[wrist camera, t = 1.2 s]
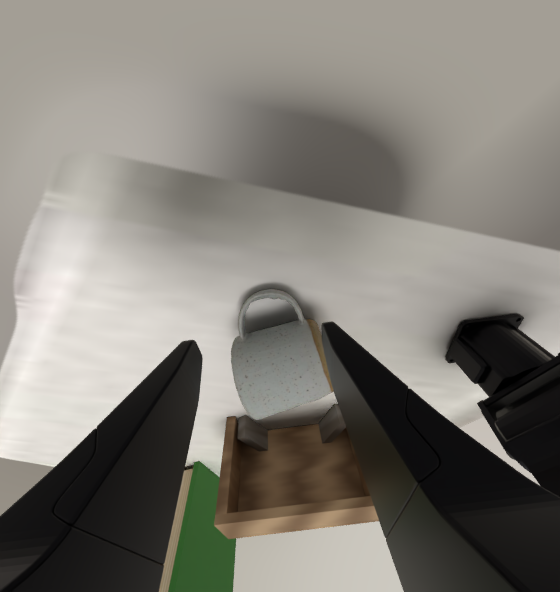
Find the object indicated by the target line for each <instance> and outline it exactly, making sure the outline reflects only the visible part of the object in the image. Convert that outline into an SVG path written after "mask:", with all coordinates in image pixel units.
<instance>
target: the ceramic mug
mask: <svg viewBox="0 0 560 592" xmlns="http://www.w3.org/2000/svg"><path fill="white" fill-rule="evenodd" d="M263 298H272V299H277V298H280V299H283V300H286V301H287V302H288V303H290V304H291V305H292V306H293V307H294V309H295V311H296V313H297V315H298V318H299V320H296V321H292V322H288V323H285V324H282V325H279V326H275V327H271V328H267V329H263V330H259V331H255V332H252V333H247V332H246V329H245V312H246V310H247V309H248V307H249V305H250V303H251V302H253V301H255V300H258V299H263ZM238 328H239V335H240V336H238V337H237V338H235V340H234V342H233V345H232V350H231V363H232V370H233V375H234V381H235V385H236V389H237V391H238V394H239V397H240V400H241V402H242V405H243V406H244V408H245V410H246V411H247V413H248V414H249V416H251V417H252V418H253V419H255V420H259V419H263V418H265V417H268V416H271V415H274V414H276V413H279V412H282V411H285V410H288V409H291V408H294V407H297V406H299V405H302V404H306V403H309V402H312V401H315V400H318V399H320V398H322V397H324V396H326V395H328V394H330V393H332V392H333V387H332V384H331V381H330V377H329V372H328V368H327V363H326V358H325V354H324V349H323V345H322V335H321V332H320V330H319V327H318V325H317V323H316V322H315V321H314V320H311V319H304V317H303V314H302V311H301V309H300V307H299V305H298V304H297V302H296V301H295V299H294V298H293V297H291V296H290V295H289V294H287V293H286V292H284V291H281V290H276V289H267V290H262V291H259V292H257V293H255V294H253V295H252V296H250V297H249V298H248V299H247V300H246V301H245V303H244V304H243V306H242V308H241V310H240V313H239V319H238Z"/></svg>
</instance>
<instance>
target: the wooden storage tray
mask: <svg viewBox="0 0 560 592" xmlns="http://www.w3.org/2000/svg"><path fill="white" fill-rule="evenodd" d="M375 521H379V519H378V516H377V513H376V510H375V507H374V505H373V502H372V499H371V496H370V493H369V490H368V487H367V485H366V482H365V479H364V476H363V473H362V470H361V467H360V465H359V462H358V459H357V456H356V453H355V450H354V448H353V445H352V442H351V439H350V436H349V433H348V430H347V428H346V425H345V422H344V419H343V416H342V413H341V410H340V408H339V405H338V404H334V405H333V407H332V408H331V409H330V410H329V411H328V413H327V414H326V415H325V416H324V418H323V419H322V420H321V421H320V423H319V424H313V425H305V426H297V427H289V428H281V429H274V430H267V429H265V428H264V427H262V426H261V425H259V424H258V423H257V422H255V421H254V420H252V419H251V418H249V417H248V416H246V415H245V416H242V417H240V418H239V424H238V421H237V419H236V416H234V417H227V422H226V430H225V438H224V447H223V455H222V463H221V471H220V480H219V488H218V496H217V504H216V513H215V521H214V526H215V527H216V528H217V529H218V530H219V531H220V532H221V533H222V534H224V535H225V536H226V537H227V538H228V539H234V538H242V537H251V536H259V535H267V534H276V533H284V532H292V531H301V530H309V529H317V528H325V527H334V526H341V525H350V524H358V523H367V522H375Z"/></svg>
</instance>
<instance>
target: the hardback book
mask: <svg viewBox="0 0 560 592" xmlns="http://www.w3.org/2000/svg"><path fill="white" fill-rule="evenodd" d="M219 480H220V478H219V477H218V476H217V475H216V474H215V473H213V472H212V471H211V470H210V469H208V468H207V467H206V466H205V465H203V464H202V463H201V462H200V461H198V462H194V467H193V469H189V470H184V473H183V478H182V483H181V488H180V492H179V497H178V502H177V507H176V511H175V516H174V521H173V526H172V531H171V535H170V540H169V545H168V550H167V554H166V559H165V563H164V564H163V565H164V570H163V574H162V579H161V584H160V589H159V592H233V579H234V563H235V547H236V538H234V539H228V538H227V537H226V536H225V535H224V534H222V533H221V532H220V531H219V530H218V529H217V528H216V527H215V526H214V521H215V513H216V504H217V496H218V488H219Z"/></svg>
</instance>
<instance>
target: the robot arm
mask: <svg viewBox="0 0 560 592" xmlns="http://www.w3.org/2000/svg"><path fill="white" fill-rule="evenodd" d="M523 319H524V317H523V316H521V315H520V314H514V315H506V316H498V317H490V318H483V319H475V320H467V321H464V322H462V323H461V324H460V326H459V328H458V330H457V333H456V335H455V337H454V340H453V342H452V344H451V347H450V349H449V351H448V354H447V356H446V359H445V360H446V361H447V362H448V363H457V365H458V366H459V367H460V368H461V369H462V370H463V372H464V373H465V374H466V375H467V376H468V377H469V379H470V380H471V381H472V382H473V383H474V384H478V385H479V386H480V387H481V388H482V389H483V390H484V391H485V393H486V394H487V395H488V396H489V398H487V399H485V400H484V401H483V400H481V401H480V402H478V403H477V404H478V406H479V407H480V409H481V412H482V414H483V415H484V417H485V418H486V420H487V422H488V424H489V425H490V427H491V428H492V430H493V432H494V433H495V435H496V437H497V438H498V440H499V441H500V443H501V445H502V446H503V448H504V449H505V451H506V453H507V454H508V455H509V457H510V458H512V459H515V460H516V461H517V462H518V463H520V465H521V466H523V467H524V468H525V469H526V470H528V471H529V472H530V473H532V475H533V476H534V477H535V478H536V480H537V481H538V483H539V484H540V486H539V485H538V484H536V483H535V482H533V481H531V480H530V479H528V478H527V477H525V476H524V475H522V474H521V473H520V472H518V471H516V470H515V469H514V468H513V467H511V466H510V465H509V464H507V463H506V462H505V461H503V460H502V459H500V458H499V457H498V456H496V455H495V454H494V453H492V452H491V451H489V450H488V449H487V448H485V447H484V446H483V445H481V444H480V443H478V442H477V441H476V440H475V439H473V438H472V437H470V436H469V435H468V434H466V433H465V432H464V431H462V430H461V429H460V428H458V427H457V426H456V425H454V424H453V423H452V422H450V421H449V420H448V419H447V418H445V417H444V416H443V415H441V414H440V413H439V412H438V411H436V410H435V409H434V408H433V407H431V406H430V405H429V404H428V403H427V402H425V401H424V400H423V399H422V398H421V397H420V396H418V395H417V394H416V393H415V392H414V391H413V390H411V389H408V386H407V385H406V384H404V383H403V382H402V381H401V380H400V379H399V378H398V377H396V376H395V375H394V374H393V373H392V372H391V371H389V370H388V369H387V368H386V367H385V366H384V365H383V364H381V363H380V362H379V361H378V360H377V359H376V358H374V357H373V356H372V355H371V354H370V353H369V352H368V351H366V350H365V349H364V348H363V347H362V346H361V345H360V344H358V343H357V342H356V341H355V340H354V339H353V338H351V337H350V336H349V335H348V334H347V333H346V332H345V331H343V330H342V329H341V328H340V327H339V326H338V325H337V324H335V323H334V322H325V323H322V345H323V349H324V354H325V358H326V363H327V368H328V372H329V377H330V381H331V384H332V387H333V391H334V393H335V396H336V399H337V402H338V405H339V408H340V410H341V413H342V416H343V419H344V422H345V425H346V428H347V430H348V433H349V436H350V439H351V442H352V445H353V448H354V450H355V453H356V456H357V459H358V462H359V465H360V467H361V470H362V473H363V476H364V479H365V482H366V485H367V487H368V490H369V493H370V496H371V499H372V502H373V505H374V507H375V510H376V513H377V516H378V519H379V522H380V524H381V527H382V530H383V533H384V536H385V538H386V542H387V545H388V547H389V550H390V553H391V556H392V559H393V562H394V564H395V567H396V570H397V573H398V576H399V579H400V582H401V585H402V587H403V590H404V592H560V353H558V356H556V357H555V356H553V355H552V354H551V353H549V352H548V351H547V350H545V349H544V348H543V347H541V346H540V345H539V344H537V343H536V342H535V341H534V340H532V339H531V338H530V337H528V336H527V335H526V334H524V333H523V332H522V331H520V330H519V329H518V327H519V325H520V324H521V322H522V321H523ZM201 371H202V354H201V352H200V350H199V348H198V345H197V343H196V341H194V340H188V341H183V342H181V343H180V344H179V345H178V346H177V347H176V348H175V349H174V350H173V351H172V352H171V353H170V354H169V355H168V356H167V357H166V358H165V359H164V360H163V361H162V362H161V363H160V364H159V365H158V366H157V367H156V368H155V369H154V370H153V371H152V372H151V373H150V374H149V375H148V376H147V377H146V378H145V379H144V380H143V381H142V382H141V383H140V384H139V385H138V386H137V387H136V388H135V389H134V390H133V391H132V392H131V393H130V394H129V395H128V396H127V397H126V398H125V399H124V400H123V401H122V402H121V403H120V404H119V405H118V406H117V407H116V408H115V409H114V410H113V411H112V412H111V413H110V414H109V415H108V416H107V417H106V418H105V419H104V420H103V421H102V422H101V423H100V424H99V425H98V426H97V429H94V430H93V431H92V432H91V433H90V434H89V435H88V436H87V437H86V438H85V439H84V440H83V441H82V442H81V443H80V444H79V445H78V446H77V447H76V448H74V449H73V450H72V451H71V452H70V453H69V454H68V455H67V456H66V457H65V458H64V459H63V460H62V461H61V462H60V463H59V464H58V465H57V466H55V467H54V468H53V469H52V470H51V471H50V472H49V473H48V474H47V475H46V476H45V477H43V478H42V479H41V480H40V481H39V482H38V483H37V484H36V485H35V486H33V488H31V489H30V490H29V491H28V492H27V493H26V494H25V495H23V496H22V497H21V498H20V499H19V500H18V501H17V502H16V503H14V504H13V505H12V506H11V507H10V508H9V509H8V510H7V511H6V512H4V513H3V514H2V515H1V516H0V592H159V589H160V584H161V579H162V574H163V570H164V565H163V564H164V563H165V559H166V554H167V550H168V545H169V540H170V535H171V531H172V526H173V521H174V516H175V511H176V507H177V502H178V497H179V492H180V488H181V483H182V478H183V473H184V469H185V464H186V459H187V454H188V449H189V445H190V440H191V435H192V430H193V426H194V421H195V416H196V411H197V406H198V401H199V393H200V382H201Z"/></svg>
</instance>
